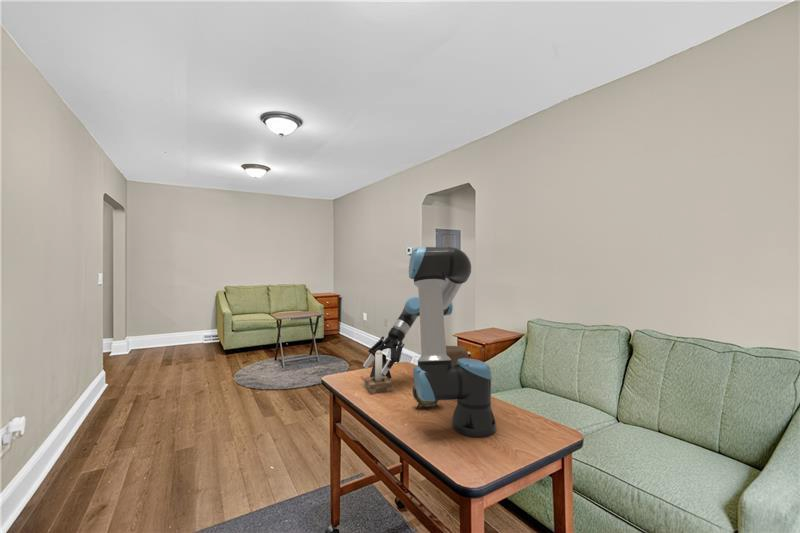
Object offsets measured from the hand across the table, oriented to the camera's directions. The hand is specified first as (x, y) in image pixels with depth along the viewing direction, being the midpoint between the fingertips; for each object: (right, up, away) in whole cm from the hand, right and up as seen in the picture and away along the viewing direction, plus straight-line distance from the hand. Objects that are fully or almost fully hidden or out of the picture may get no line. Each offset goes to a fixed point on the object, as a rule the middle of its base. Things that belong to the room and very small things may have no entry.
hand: (373, 370), depth 161 cm
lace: (-5, -9, +12) cm, 16 cm away
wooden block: (+35, -9, -3) cm, 37 cm away
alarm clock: (+22, -10, -17) cm, 30 cm away
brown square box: (+2, -9, +2) cm, 9 cm away
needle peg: (+2, -9, +2) cm, 9 cm away
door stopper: (+2, -9, +17) cm, 19 cm away
